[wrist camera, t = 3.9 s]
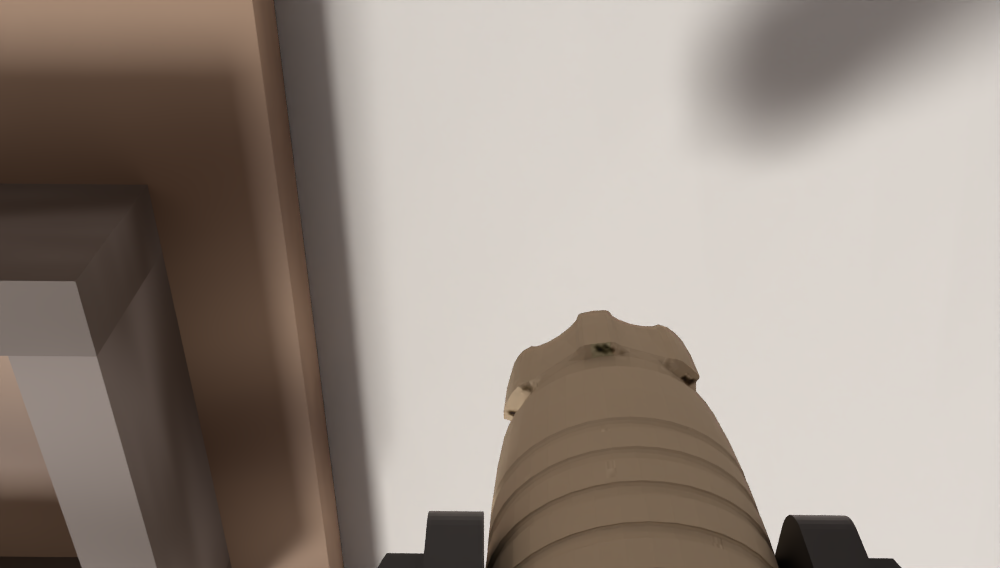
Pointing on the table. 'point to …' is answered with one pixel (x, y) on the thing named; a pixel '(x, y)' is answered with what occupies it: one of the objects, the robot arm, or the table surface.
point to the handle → (618, 460)
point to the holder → (155, 294)
